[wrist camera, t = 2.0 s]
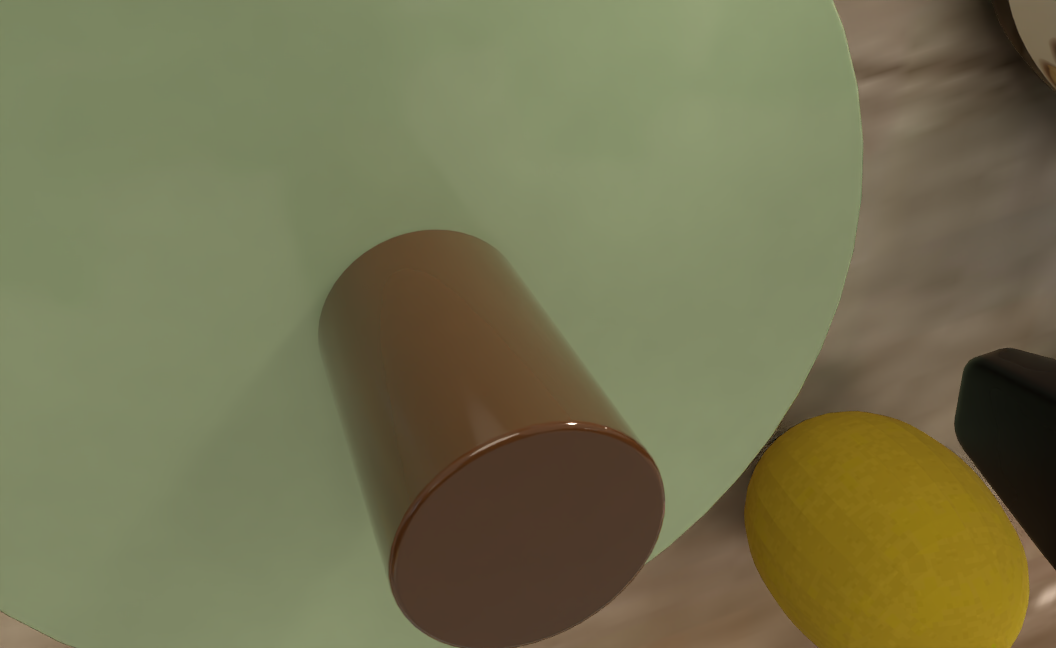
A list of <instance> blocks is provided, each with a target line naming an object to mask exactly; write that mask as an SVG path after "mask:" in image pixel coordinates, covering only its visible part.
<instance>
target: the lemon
mask: <svg viewBox="0 0 1056 648" xmlns="http://www.w3.org/2000/svg"><path fill="white" fill-rule="evenodd" d="M744 519H745V528H746V533H747V538H748V543H749V548H750V552H751V555H752V558H753V561H754V563H755V566H756V568H757V570H758V572H759V574H760V576H761V578H762V579H763V581H764V583H765V585H766V586H767V588H768V589H769V591H770V592H771V594H772V595H773V597H774V599H775V600H776V602H777V603H778V604H779V606H780V607H781V609H782V610H783V611H784V613H785V614H786V615H787V616H788V618H789V619H790V620H791V621H792V622H793V624H794V625H795V626H796V627H797V628H798V629H799V630H800V631H801V632H802V633H803V634H804V635H805V636H806V637H807V638H808V639H810V640H811V641H812V642H813V643H814V644H815V645H816V646H818V647H819V648H1011V646H1012V645H1013V643H1014V641H1015V640H1016V638H1017V636H1018V634H1019V632H1020V630H1021V628H1022V625H1023V622H1024V618H1025V614H1026V610H1027V606H1028V598H1029V577H1028V566H1027V560H1026V556H1025V552H1024V548H1023V546H1022V543H1021V541H1020V539H1019V537H1018V535H1017V532H1016V531H1015V529H1014V527H1013V526H1012V524H1011V522H1010V521H1009V519H1008V517H1007V516H1006V514H1005V512H1004V510H1003V509H1002V507H1001V506H1000V504H999V503H998V501H997V500H996V498H995V497H994V495H993V494H992V493H991V491H990V490H989V489H988V487H987V486H986V485H985V484H984V482H983V481H982V480H981V479H980V478H979V477H978V475H977V474H976V473H975V472H974V471H973V470H972V469H971V468H970V467H969V466H968V465H967V464H966V463H965V462H964V461H963V460H962V459H961V458H959V457H958V456H957V455H956V454H955V453H953V452H952V451H951V450H950V449H948V448H947V447H945V446H944V445H942V444H941V443H939V442H938V441H936V440H935V439H933V438H932V437H930V436H928V435H927V434H925V433H924V432H922V431H920V430H918V429H917V428H915V427H913V426H911V425H909V424H907V423H905V422H902V421H900V420H898V419H894V418H891V417H887V416H883V415H878V414H873V413H868V412H860V411H847V412H834V413H827V414H823V415H820V416H817V417H814V418H811V419H807V420H805V421H803V422H801V423H799V424H798V425H796V426H794V427H792V428H790V429H789V430H788V431H787V432H785V433H784V434H783V435H781V436H779V437H778V438H777V439H776V440H775V442H774V443H773V444H772V445H771V446H770V447H769V448H768V449H767V450H766V451H765V453H764V454H763V456H762V457H761V459H760V460H759V462H758V463H757V465H756V467H755V470H754V472H753V475H752V477H751V480H750V482H749V485H748V488H747V496H746V503H745V511H744Z"/></svg>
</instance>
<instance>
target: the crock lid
mask: <svg viewBox="0 0 1056 648" xmlns="http://www.w3.org/2000/svg"><path fill="white" fill-rule="evenodd" d="M862 170H863V134H862V124H861V114H860V104H859V94H858V85H857V81H856V77H855V73H854V68H853V64H852V60H851V56H850V51H849V47H848V43H847V39H846V35H845V30H844V28H843V25H842V22H841V20H840V17H839V15H838V12H837V10H836V7H835V5H834V2H833V0H0V611H1V612H3V613H4V614H6V615H7V616H9V617H11V618H13V619H15V620H17V621H19V622H21V623H23V624H25V625H27V626H29V627H31V628H33V629H35V630H37V631H39V632H41V633H43V634H45V635H47V636H49V637H50V638H52V639H54V640H56V641H58V642H60V643H63V644H65V645H68V646H71V647H74V648H515V647H520V646H524V645H528V644H532V643H536V642H539V641H542V640H545V639H548V638H550V637H553V636H555V635H557V634H560V633H562V632H564V631H567V630H568V629H570V628H572V627H574V626H576V625H578V624H580V623H582V622H583V621H585V620H586V619H588V618H589V617H591V616H593V615H594V614H596V613H597V612H598V611H600V610H601V609H602V608H604V607H605V606H606V605H608V604H609V603H610V602H611V601H612V600H613V599H615V598H616V597H617V596H618V595H619V594H620V593H621V592H622V591H623V590H624V589H625V588H626V587H627V586H628V585H629V584H630V583H631V582H632V580H633V579H634V578H635V577H636V575H637V574H638V573H639V571H640V570H641V569H642V568H643V566H644V565H646V564H647V563H648V562H650V561H651V560H652V559H654V558H655V557H656V556H657V555H659V554H660V553H661V552H663V551H664V550H665V549H667V548H668V547H669V546H670V545H671V544H673V543H674V542H675V541H676V540H677V539H678V538H679V537H680V536H681V535H683V534H684V533H685V532H686V531H687V530H688V529H689V528H690V527H691V526H693V525H694V524H695V523H696V522H697V521H698V520H699V519H700V518H701V517H703V516H704V515H705V514H706V513H707V512H708V511H709V510H710V509H711V507H712V506H713V505H714V504H715V503H716V502H717V501H718V500H719V499H720V498H721V497H722V496H723V495H724V493H725V492H726V491H727V490H728V489H729V488H730V487H731V486H732V485H733V484H734V483H735V482H736V481H737V480H738V478H739V477H740V476H741V475H742V474H743V472H744V471H745V470H746V469H747V467H748V466H749V465H750V463H751V462H752V461H753V460H754V458H755V457H756V456H757V454H758V453H759V452H760V451H761V449H762V448H763V447H764V445H765V444H766V443H767V442H768V440H769V439H770V438H771V436H772V435H773V433H774V432H775V430H776V428H777V427H778V425H779V424H780V422H781V421H782V419H783V417H784V416H785V414H786V413H787V411H788V410H789V408H790V407H791V405H792V403H793V402H794V400H795V399H796V397H797V396H798V394H799V392H800V390H801V388H802V386H803V384H804V382H805V380H806V378H807V376H808V374H809V372H810V370H811V368H812V366H813V364H814V363H815V361H816V359H817V357H818V355H819V353H820V351H821V349H822V346H823V344H824V341H825V338H826V336H827V333H828V331H829V328H830V326H831V323H832V320H833V318H834V315H835V313H836V310H837V308H838V305H839V302H840V299H841V296H842V292H843V288H844V284H845V281H846V277H847V273H848V270H849V266H850V262H851V258H852V255H853V251H854V245H855V238H856V232H857V225H858V218H859V212H860V205H861V199H862Z"/></svg>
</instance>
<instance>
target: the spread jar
mask: <svg viewBox="0 0 1056 648" xmlns="http://www.w3.org/2000/svg"><path fill="white" fill-rule="evenodd" d="M991 2H992V4H993V7H994V10H995V12H996V15H997V18H998V20H999V22H1000V24H1001V26H1002V28H1003V30H1004V32H1005V34H1006V36H1007V37H1008V39H1009V40H1010V42H1011V43H1012V45H1013V46H1014V48H1015V49H1016V50H1017V51H1018V53H1019V54H1020V55H1021V56H1022V57H1023V59H1024V60H1025V61H1026V62H1027V63H1028V65H1029V66H1030V67H1031V68H1032V69H1033V70H1034V71H1035V73H1036V74H1037V75H1038V76H1039V77H1040V78H1041V79H1042V80H1043V81H1044V82H1045V83H1046V84H1047V85H1048V86H1049V87H1050V88H1051V89H1052V90H1053V91H1054V92H1055V93H1056V0H991Z"/></svg>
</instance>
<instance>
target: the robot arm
mask: <svg viewBox="0 0 1056 648" xmlns="http://www.w3.org/2000/svg"><path fill="white" fill-rule="evenodd" d="M954 426H955V432H956V436H957V439H958V441H959V443H960V445H961V446H962V448H963V450H964V451H965V452H966V453H967V455H968V456H969V457H970V459H971V460H972V461H973V463H974V464H975V465H976V467H977V468H978V469H979V471H980V472H981V473H982V475H983V476H984V477H985V479H986V480H987V481H988V483H989V484H990V485H991V487H992V488H993V489H994V491H995V492H996V493H997V495H998V496H999V497H1000V498H1001V500H1002V501H1003V502H1004V504H1005V505H1006V506H1007V508H1008V509H1009V510H1010V512H1011V513H1012V514H1013V516H1014V517H1015V518H1016V520H1017V521H1018V522H1019V524H1020V525H1021V526H1022V528H1023V529H1024V530H1025V532H1026V533H1027V534H1028V536H1029V537H1030V538H1031V540H1032V541H1033V542H1034V543H1035V545H1036V546H1037V547H1038V549H1039V550H1040V551H1041V553H1042V554H1043V555H1044V556H1045V558H1046V559H1047V560H1048V561H1049V563H1050V564H1051V565H1052V566H1053V568H1054V569H1055V570H1056V360H1055V359H1051V358H1048V357H1044V356H1040V355H1036V354H1033V353H1029V352H1025V351H1021V350H1018V349H1013V348H1003V349H998V350H995V351H992V352H989V353H987V354H984V355H981V356H978V357H975V358H973V359H971V360H970V361H969V362H968V363H967V365H966V366H965V368H964V371H963V375H962V381H961V386H960V392H959V398H958V403H957V409H956V415H955V421H954Z"/></svg>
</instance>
